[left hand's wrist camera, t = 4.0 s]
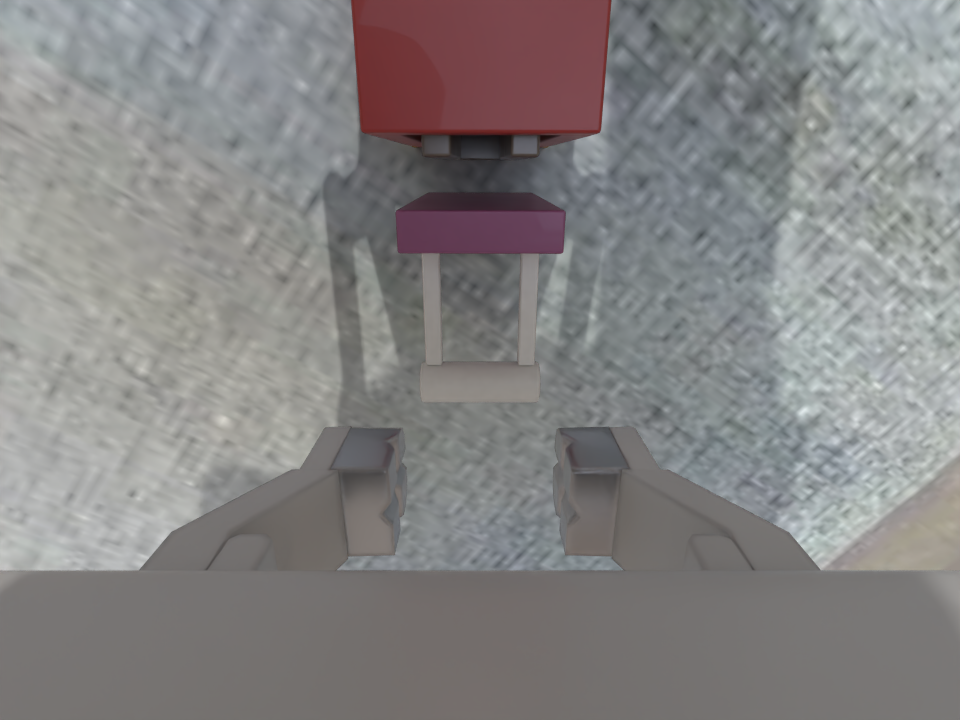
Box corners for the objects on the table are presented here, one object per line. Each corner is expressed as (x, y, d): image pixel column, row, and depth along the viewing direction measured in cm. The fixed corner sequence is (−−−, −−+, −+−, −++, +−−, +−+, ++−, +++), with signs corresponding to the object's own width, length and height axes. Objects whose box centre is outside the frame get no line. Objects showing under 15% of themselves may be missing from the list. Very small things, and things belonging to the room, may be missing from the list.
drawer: (527, 344, 26) (552, 440, 17) (432, 344, 26) (408, 440, 17) (553, -365, 17) (636, -961, 8) (408, -366, 17) (329, -964, 8)
